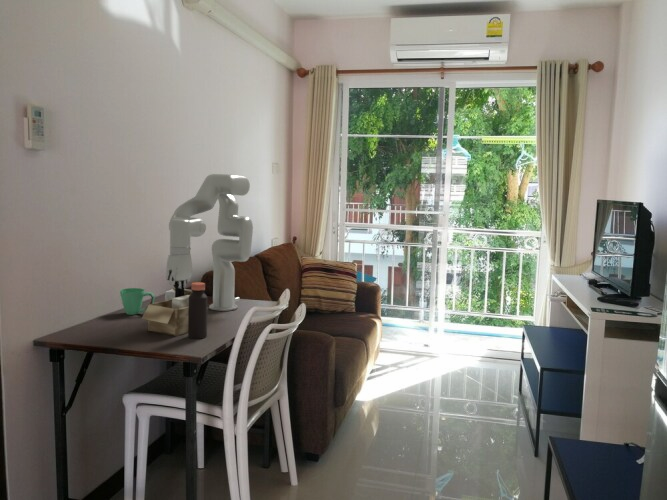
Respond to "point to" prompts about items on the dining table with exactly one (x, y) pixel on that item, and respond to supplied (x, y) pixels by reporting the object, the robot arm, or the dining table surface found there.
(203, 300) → the bottle
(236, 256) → the robot arm
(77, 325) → the dining table surface
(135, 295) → the mug
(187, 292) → the rear flap
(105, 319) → the dining table surface
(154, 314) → the front flap
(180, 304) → the carton
